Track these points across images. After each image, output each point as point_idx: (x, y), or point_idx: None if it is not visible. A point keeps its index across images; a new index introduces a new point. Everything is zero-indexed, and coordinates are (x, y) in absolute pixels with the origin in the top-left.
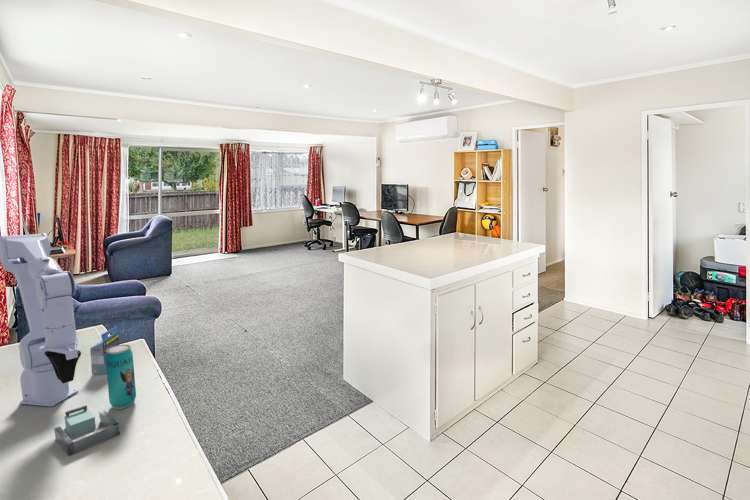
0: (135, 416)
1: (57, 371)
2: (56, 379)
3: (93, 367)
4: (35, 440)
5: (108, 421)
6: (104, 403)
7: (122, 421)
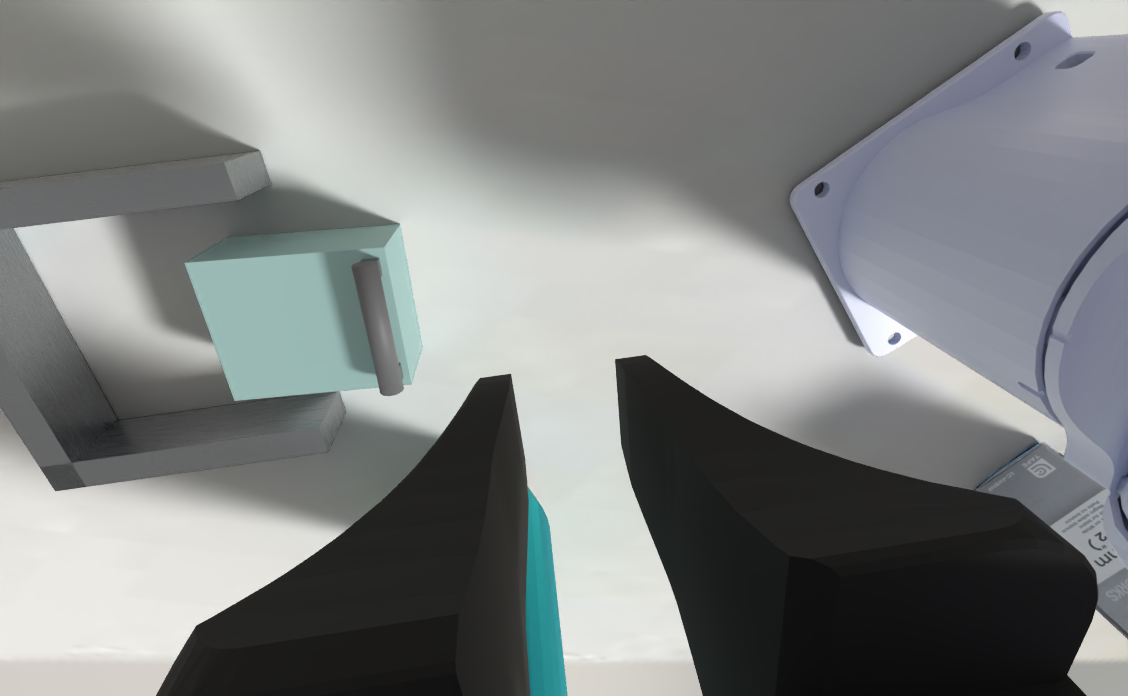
0: (284, 528)
1: (648, 415)
2: (948, 303)
3: (1071, 481)
4: (327, 34)
5: (154, 446)
6: (576, 438)
7: (264, 474)
